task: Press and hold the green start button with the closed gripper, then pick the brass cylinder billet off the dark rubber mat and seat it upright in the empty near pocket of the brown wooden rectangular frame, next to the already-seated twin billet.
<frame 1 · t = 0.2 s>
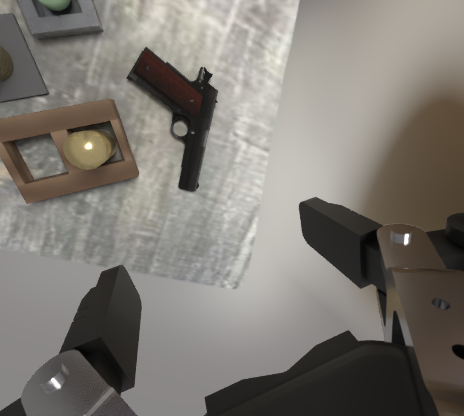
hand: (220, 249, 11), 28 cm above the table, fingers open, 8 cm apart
handgun: (168, 126, 35), on the table
billet seated: (101, 144, 33), resting in brown wooden rectangular frame
brown wooden rectangular frame: (74, 150, 32), on the table
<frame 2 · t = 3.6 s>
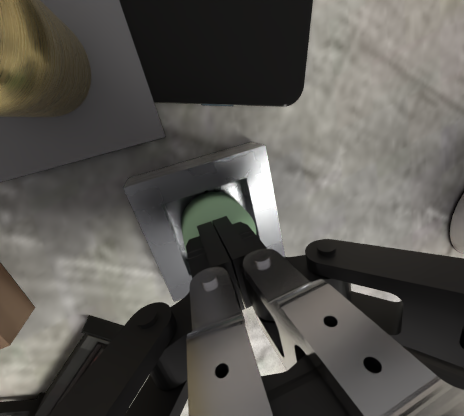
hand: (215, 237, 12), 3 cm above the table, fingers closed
start button: (217, 229, 13), point 2 cm above the table, slide at 0.9 cm, touching gripper
billet: (36, 64, 10), resting on mat
handgun: (7, 382, 16), on the table
mat: (40, 66, 10), on the table
button housing: (209, 215, 15), on the table
smartphone: (156, 18, 11), on the table
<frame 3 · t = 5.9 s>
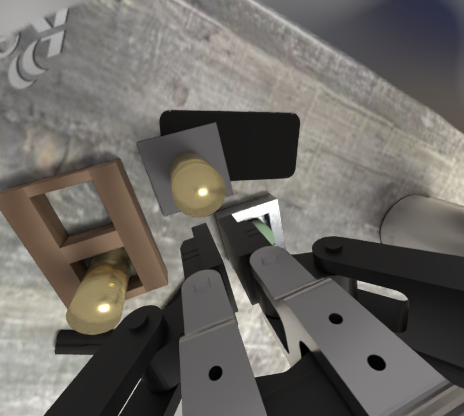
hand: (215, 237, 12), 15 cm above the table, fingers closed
start button: (256, 237, 28), point 3 cm above the table, slide at 0.5 cm
billet: (189, 171, 25), resting on mat
handgun: (142, 307, 30), on the table
mat: (188, 170, 25), on the table
billet seated: (113, 262, 27), resting in brown wooden rectangular frame
brown wooden rectangular frame: (99, 235, 25), on the table
button housing: (249, 228, 30), on the table
smartphone: (232, 147, 26), on the table
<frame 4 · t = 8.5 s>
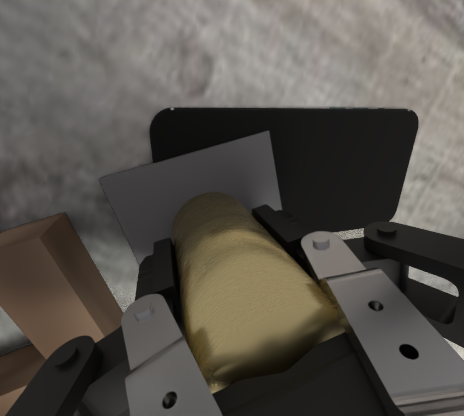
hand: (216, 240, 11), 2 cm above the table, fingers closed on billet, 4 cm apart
billet: (212, 228, 12), resting on mat, touching gripper
mat: (210, 225, 13), on the table
brown wooden rectangular frame: (32, 359, 13), on the table
smartphone: (291, 176, 14), on the table
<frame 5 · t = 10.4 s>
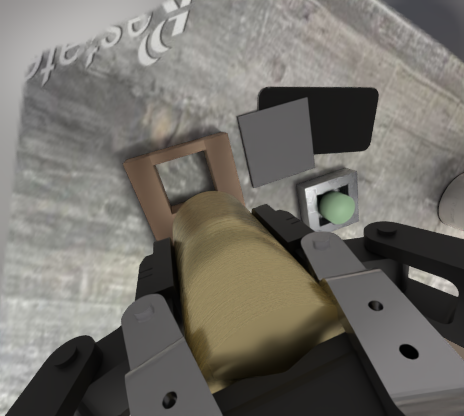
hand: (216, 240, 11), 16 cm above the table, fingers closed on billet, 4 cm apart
start button: (336, 207, 29), point 3 cm above the table, slide at 0.5 cm
billet: (212, 228, 12), point 15 cm above the table, touching gripper
mat: (278, 144, 27), on the table
brown wooden rectangular frame: (196, 206, 27), on the table
button housing: (323, 201, 32), on the table
smartphone: (315, 122, 28), on the table
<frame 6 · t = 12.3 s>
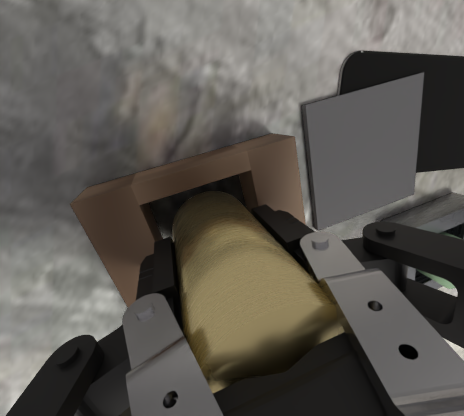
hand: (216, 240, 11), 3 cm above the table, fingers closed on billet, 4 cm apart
start button: (447, 259, 18), point 3 cm above the table, slide at 0.5 cm
billet: (211, 227, 12), point 2 cm above the table, touching gripper
mat: (363, 155, 16), on the table
brown wooden rectangular frame: (219, 264, 15), on the table
button housing: (414, 243, 20), on the table
smartphone: (421, 118, 17), on the table
when the fingers open (3 cm above the table, at t = 12.4 s): billet drops 2 cm, resting in brown wooden rectangular frame.
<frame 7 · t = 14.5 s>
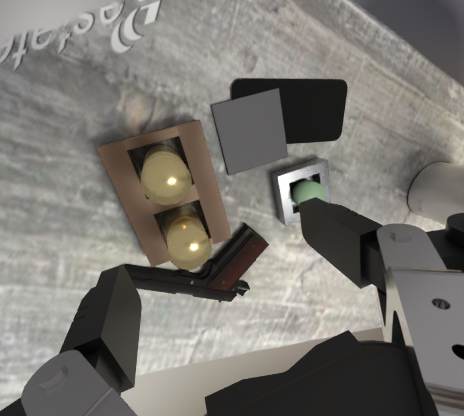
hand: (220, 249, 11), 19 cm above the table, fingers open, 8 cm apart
start button: (308, 195, 31), point 3 cm above the table, slide at 0.5 cm
billet: (163, 163, 27), resting in brown wooden rectangular frame
handgun: (197, 252, 33), on the table, touching brown wooden rectangular frame
mat: (251, 133, 28), on the table
billet seated: (181, 218, 30), resting in brown wooden rectangular frame
brown wooden rectangular frame: (172, 192, 28), on the table
button housing: (297, 189, 33), on the table
smartphone: (288, 112, 29), on the table
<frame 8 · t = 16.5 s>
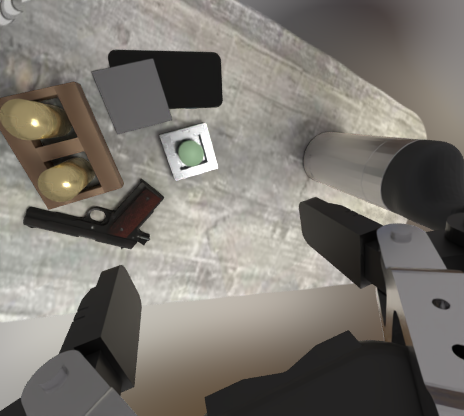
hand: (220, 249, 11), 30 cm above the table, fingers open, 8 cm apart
start button: (190, 153, 36), point 3 cm above the table, slide at 0.5 cm
billet: (54, 121, 32), resting in brown wooden rectangular frame
handgun: (101, 203, 38), on the table
mat: (135, 97, 34), on the table
billet seated: (79, 171, 35), resting in brown wooden rectangular frame
brown wooden rectangular frame: (67, 147, 33), on the table
button housing: (188, 151, 38), on the table
smartphone: (169, 81, 35), on the table
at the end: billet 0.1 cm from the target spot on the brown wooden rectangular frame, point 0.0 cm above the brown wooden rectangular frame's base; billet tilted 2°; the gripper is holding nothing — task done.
